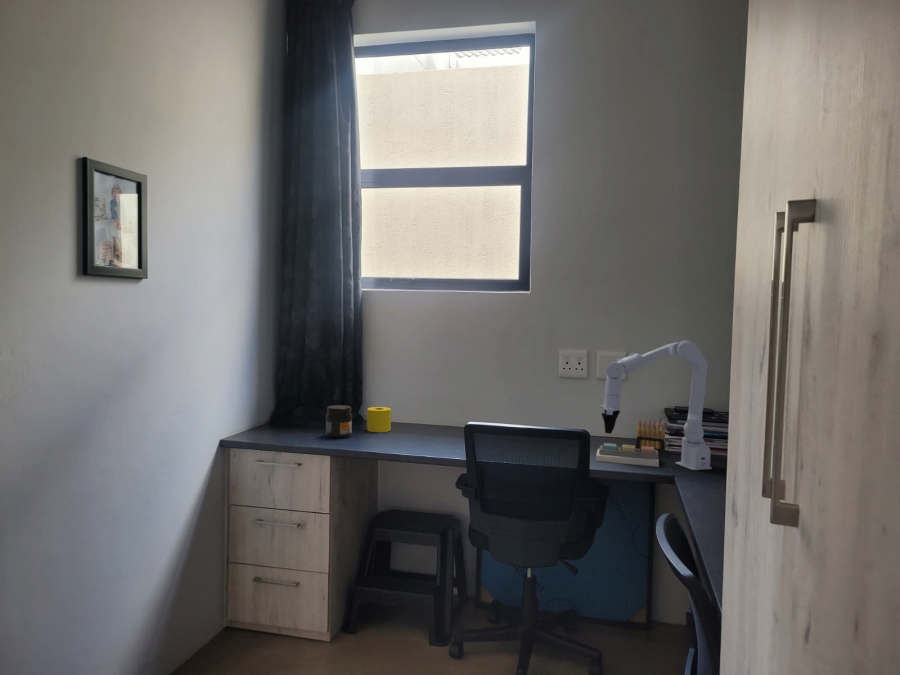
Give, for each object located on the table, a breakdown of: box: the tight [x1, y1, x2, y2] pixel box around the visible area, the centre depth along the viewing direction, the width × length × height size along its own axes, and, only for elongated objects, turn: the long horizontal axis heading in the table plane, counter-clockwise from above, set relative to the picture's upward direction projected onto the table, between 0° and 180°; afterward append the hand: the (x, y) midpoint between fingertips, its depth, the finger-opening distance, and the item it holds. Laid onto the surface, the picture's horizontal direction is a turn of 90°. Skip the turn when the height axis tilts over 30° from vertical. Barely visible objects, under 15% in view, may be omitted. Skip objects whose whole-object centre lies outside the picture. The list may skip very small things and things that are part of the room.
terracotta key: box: [641, 446, 654, 454], centre depth 218 cm, size 4×4×2 cm
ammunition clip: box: [635, 418, 666, 453], centre depth 237 cm, size 11×2×12 cm, turn 64°
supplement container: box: [325, 404, 353, 439], centre depth 249 cm, size 10×10×12 cm
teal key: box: [602, 442, 617, 450], centre depth 222 cm, size 4×4×2 cm
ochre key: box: [621, 444, 636, 452], centre depth 220 cm, size 4×4×2 cm
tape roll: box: [366, 406, 392, 433], centre depth 262 cm, size 10×10×9 cm
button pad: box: [595, 445, 660, 468], centre depth 220 cm, size 21×11×4 cm, turn 74°
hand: (609, 431), depth 224 cm, fingers open, 7 cm apart
